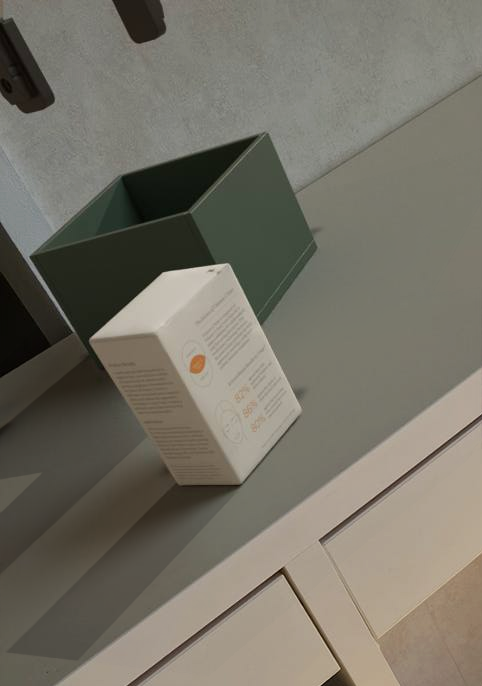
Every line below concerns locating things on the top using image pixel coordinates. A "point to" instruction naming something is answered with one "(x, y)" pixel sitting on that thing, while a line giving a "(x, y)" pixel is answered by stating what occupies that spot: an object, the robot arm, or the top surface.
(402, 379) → the top surface
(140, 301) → the small box
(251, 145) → the bin
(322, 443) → the top surface
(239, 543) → the top surface
